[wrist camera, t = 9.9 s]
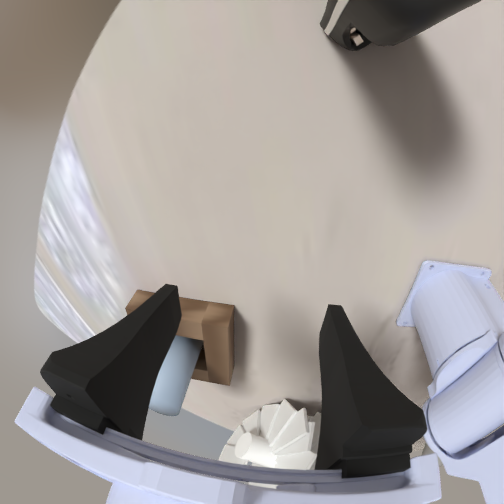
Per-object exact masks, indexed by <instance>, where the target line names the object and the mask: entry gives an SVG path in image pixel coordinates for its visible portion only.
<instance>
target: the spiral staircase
mask: <svg viewBox="0 0 504 504" xmlns="http://www.w3.org/2000/svg"><path fill="white" fill-rule="evenodd" d="M320 424H321V413H320V412H318V411H317V413H316V414H315V415H314V417H313V416H307V412H306V409H305V408H302V409H301V410H299V411H297V410H296V409H295V408H294V407H293V406H292V405H291V404H290V403H289V402H288V401H287V400H286V399H284V400H283V401H282V403H281V404H271V405H263V408H262V410H261V413H260V410H257V411H255V412H254V413H253V414H251V415H250V416H249V417H247V418H246V419H245V420H243V426H242V425H239V426H238V428H237V429H236V430H235V432H234V433H233V435H232V436H231V437H230V439H229V440H228V441H227V444H228V445H226V444H225V446H224V448H223V450H222V453H221V455H220V457H219V460H218V461H224V462H230V463H236V464H243V465H247V463H248V461H250V462H253V464H252V466H258V467H268V468H280V469H298V470H314V469H315V464H316V457H317V451H318V443H319V435H320ZM249 485H253V486H260V487H266V488H274V489H276V487H277V486H278V485H273V484H262V483H253V482H249Z"/></svg>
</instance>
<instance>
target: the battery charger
mask: <svg viewBox="0 0 504 504" xmlns="http://www.w3.org/2000/svg"><path fill="white" fill-rule="evenodd" d="M479 1H481V0H328V2H327V6H326V10H325V13H324V16H323V18H322V20H321V22H320V25H321V27H322V28H323V29H324V32H325V33H326V34H327V35H330V36H331V37H332V38H333V39H334V40H335V41H336V42H337V43H338V44H340V45H341V46H342V47H344V48H346V49H348V50H352V51H357V50H360V49H362V48H364V47H365V46H367V45H369V44H370V43H372V42H373V43H374V44H376V45H380V46H387V45H396V44H398V43H400V42H402V41H405V40H407V39H409V38H411V37H413V36H415V35H417V34H419V33H421V32H423V31H424V30H426V29H428V28H430V27H432V26H433V25H435V24H437V23H439V22H441V21H442V20H444V19H446V18H448V17H450V16H452V15H454V14H456V13H458V12H459V11H461V10H463V9H465V8H467V7H469V6H472V5H474V4H476V3H478V2H479Z"/></svg>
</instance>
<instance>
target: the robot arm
mask: <svg viewBox="0 0 504 504" xmlns="http://www.w3.org/2000/svg"><path fill="white" fill-rule="evenodd" d="M431 265H432V267H430V266H431ZM429 267H430V268H429ZM491 273H492V271H491V270H490V269H489V268H482V267H475V266H467V265H460V264H452V263H445V262H437V261H430V260H426V261H424V262H423V263H422V265H421V267H420V270H419V272H418V275H417V277H416V279H415V282H414V284H413V286H412V289H411V291H410V293H409V295H408V298H407V300H406V302H405V304H404V306H403V308H402V310H401V312H400V314H399V316H398V318H397V320H396V323H397V325H398V326H410V327H416V328H417V331H418V334H419V337H420V340H421V343H422V346H423V349H424V352H425V355H426V358H427V361H428V364H429V368H430V371H431V375H432V378H433V382H432V383H431V384H430V385H429V386H428V387H427V388H428V392H429V396H430V398H428V399H427V400H426V402H425V403H424V405H423V407H422V409H421V408H420V407H418V406H417V405H416V404H414V403H413V402H412V401H411V400H409V399H408V398H407V397H406V396H405V395H404V394H403V393H401V392H400V391H399V390H398V389H397V388H396V387H395V386H394V385H393V384H392V382H391V381H390V380H389V379H388V378H387V377H386V376H385V375H384V374H383V372H382V371H381V370H380V369H379V368H378V366H377V365H376V364H375V362H374V361H373V360H372V358H371V357H370V355H369V354H368V352H367V351H366V349H365V348H364V346H363V344H362V343H361V341H360V339H359V338H358V336H357V334H356V332H355V331H354V329H353V327H352V325H351V323H350V321H349V319H348V317H347V315H346V313H345V311H344V309H343V307H342V306H341V305H329V304H328V308H327V311H326V315H325V318H324V321H323V325H322V328H321V331H320V338H319V359H320V371H321V385H322V411H321V424H320V435H319V443H318V451H317V457H316V464H315V469H314V470H298V469H280V468H268V467H258V466H250V465H243V464H236V463H230V462H224V461H218V460H213V459H208V458H203V457H198V456H194V455H190V454H186V453H182V452H178V451H174V450H171V449H167V448H164V447H160V446H157V445H154V444H151V443H148V442H144V441H142V437H143V431H144V426H145V421H146V416H147V412H148V408H149V404H150V400H151V396H152V393H153V389H154V386H155V383H156V379H157V376H158V373H159V371H160V368H161V366H162V364H163V362H164V360H165V357H166V355H167V353H168V351H169V349H170V347H171V344H172V342H173V340H174V338H175V336H176V333H177V330H178V327H179V324H180V321H181V317H182V313H181V307H180V300H179V294H178V288H177V286H175V285H169V284H165V285H164V286H163V287H162V288H160V289H159V290H158V291H157V292H156V293H154V294H153V295H152V296H151V297H150V298H149V299H147V300H146V301H145V302H144V303H143V304H141V305H140V306H139V307H138V308H136V309H135V310H134V311H133V312H131V313H130V314H129V315H127V316H126V317H125V318H123V319H122V320H120V321H119V322H118V323H116V324H115V325H113V326H111V327H110V328H108V329H106V330H105V331H103V332H101V333H99V334H97V335H95V336H93V337H91V338H90V339H87V340H85V341H83V342H81V343H78V344H76V345H73V346H70V347H68V348H65V349H62V350H58V351H55V352H52V354H51V355H50V356H49V358H48V360H47V361H46V362H45V364H44V366H43V367H42V369H41V371H40V373H41V375H42V377H43V379H44V380H45V382H46V383H47V384H48V385H49V386H50V387H51V389H52V390H53V391H54V392H55V393H56V395H55V397H54V398H53V397H51V396H50V395H49V394H47V393H45V392H44V391H42V390H40V389H39V388H37V387H33V389H32V391H31V393H30V394H29V396H28V398H27V400H26V401H25V403H24V405H23V407H22V409H21V410H20V412H19V414H18V416H17V418H16V420H15V423H16V424H17V425H18V426H20V427H21V428H22V429H23V430H25V431H26V432H27V433H28V434H30V435H31V436H32V437H34V438H35V439H36V440H38V441H39V442H40V443H42V444H43V445H45V446H46V447H48V448H49V449H51V450H53V451H54V452H56V453H57V454H59V455H61V456H62V457H64V458H66V459H67V460H69V461H71V462H73V463H74V464H76V465H78V466H80V467H82V468H83V469H86V470H87V471H89V472H91V473H93V474H95V475H97V476H99V477H101V478H103V479H105V480H108V481H110V482H112V483H113V484H112V487H111V489H110V492H109V495H108V498H107V501H106V504H428V503H431V502H434V501H436V500H439V499H441V497H442V495H441V482H440V472H439V464H438V457H439V458H440V460H441V461H442V463H443V465H444V467H445V470H446V473H447V474H449V475H452V476H456V477H460V478H466V479H471V480H476V481H478V482H479V484H480V487H481V490H482V493H483V496H484V499H485V502H486V504H504V425H503V426H502V427H500V426H501V425H502V424H504V301H503V300H502V298H501V297H500V295H499V293H498V292H497V291H496V289H495V288H494V286H493V285H492V283H491V282H490V280H489V278H490V276H491ZM498 427H500V428H499V429H498V430H496V431H495V432H493V433H492V434H490V435H489V436H487V437H485V436H486V435H488V434H489V433H491V432H492V431H494V430H495V429H497V428H498ZM422 436H423V437H424V439H425V441H426V443H427V445H428V446H429V448H430V449H431V450H432V451H433V452H434V453H431V454H426V455H421V456H417V457H413V458H411V459H410V455H409V453H411V452H412V444H413V443H415V442H416V441H417V440H419V439H420V438H421V437H422ZM483 437H485V438H483ZM481 438H483V439H481ZM148 459H150V460H153V461H156V462H152V461H150V460H148ZM157 462H159V463H157ZM161 463H162V464H161ZM168 465H169V466H168ZM175 467H176V468H175ZM179 468H180V469H179ZM195 472H196V473H195ZM199 473H200V474H199ZM204 474H205V475H204ZM208 475H209V476H208ZM213 476H214V477H213ZM219 477H220V478H219ZM224 478H225V479H224ZM229 479H231V480H229ZM234 480H238V481H246V482H253V483H262V484H273V485H278V486H277V487H276V489H274V488H266V487H260V486H253V485H248V484H244V483H241V482H237V481H234Z"/></svg>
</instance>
